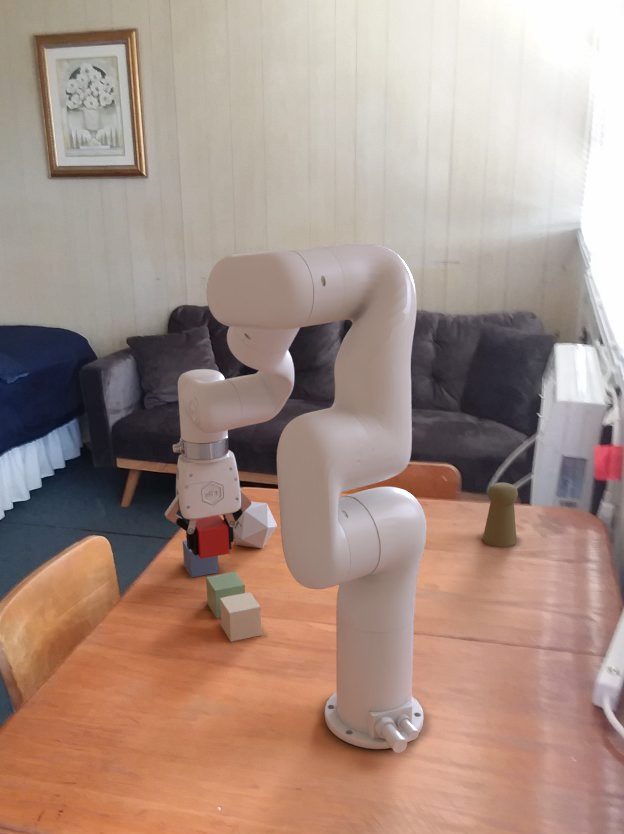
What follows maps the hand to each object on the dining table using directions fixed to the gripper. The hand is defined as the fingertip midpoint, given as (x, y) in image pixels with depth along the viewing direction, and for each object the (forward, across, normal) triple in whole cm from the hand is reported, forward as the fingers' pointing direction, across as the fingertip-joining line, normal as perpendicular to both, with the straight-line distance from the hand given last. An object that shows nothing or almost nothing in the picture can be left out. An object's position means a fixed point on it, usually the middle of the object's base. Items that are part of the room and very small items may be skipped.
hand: (210, 548), depth 141 cm
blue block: (+8, 0, +7) cm, 11 cm away
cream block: (+7, 0, -15) cm, 17 cm away
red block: (0, 0, 0) cm, 0 cm away
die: (+8, +12, +14) cm, 20 cm away
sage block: (+7, 0, -8) cm, 11 cm away
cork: (+8, +55, -3) cm, 56 cm away
